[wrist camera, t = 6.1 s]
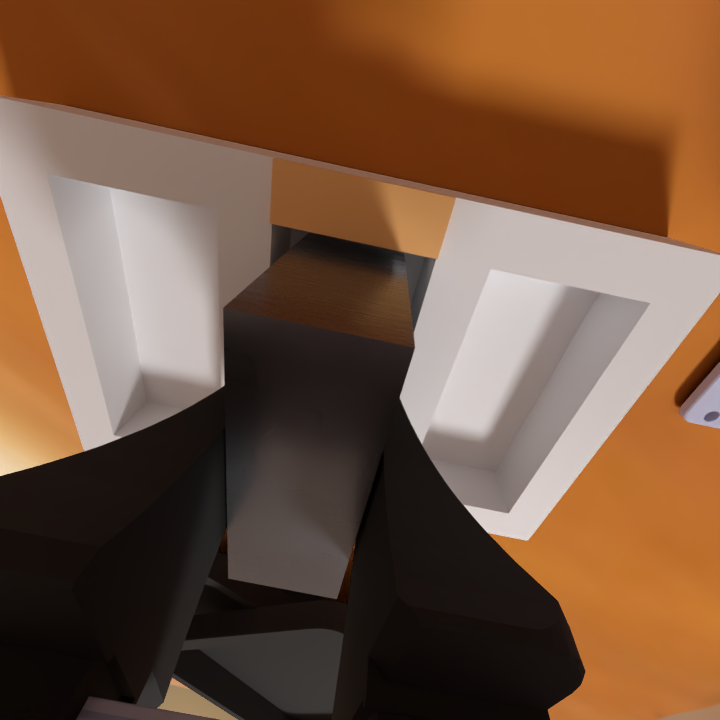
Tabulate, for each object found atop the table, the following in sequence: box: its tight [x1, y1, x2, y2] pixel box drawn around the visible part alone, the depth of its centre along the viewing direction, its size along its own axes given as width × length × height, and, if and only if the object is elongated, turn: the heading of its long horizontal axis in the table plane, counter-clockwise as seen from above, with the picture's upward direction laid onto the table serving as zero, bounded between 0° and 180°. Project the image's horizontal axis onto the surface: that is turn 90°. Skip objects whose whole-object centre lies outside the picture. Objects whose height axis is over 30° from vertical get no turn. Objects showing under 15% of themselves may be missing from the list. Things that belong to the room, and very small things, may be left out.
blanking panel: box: [223, 232, 415, 599], centre depth 10 cm, size 3×8×7 cm, turn 169°
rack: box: [0, 95, 720, 541], centre depth 13 cm, size 20×12×3 cm, turn 79°
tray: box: [172, 552, 347, 720], centre depth 24 cm, size 30×23×5 cm
